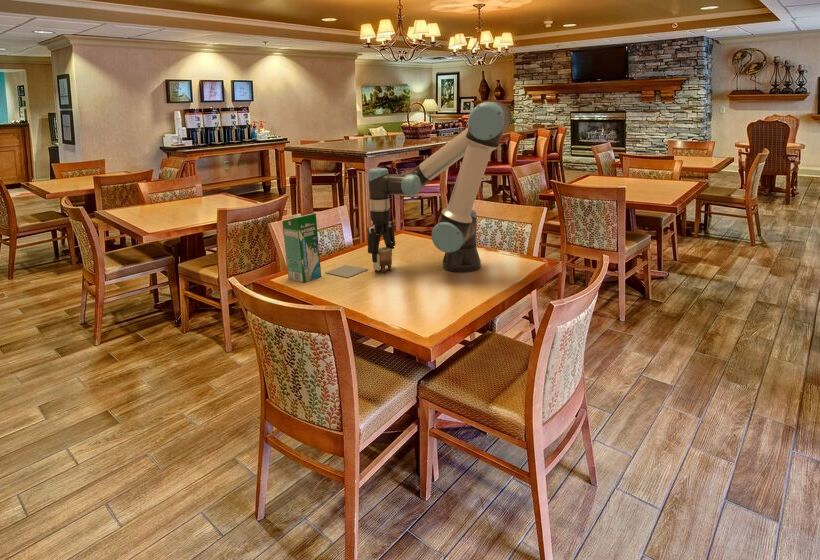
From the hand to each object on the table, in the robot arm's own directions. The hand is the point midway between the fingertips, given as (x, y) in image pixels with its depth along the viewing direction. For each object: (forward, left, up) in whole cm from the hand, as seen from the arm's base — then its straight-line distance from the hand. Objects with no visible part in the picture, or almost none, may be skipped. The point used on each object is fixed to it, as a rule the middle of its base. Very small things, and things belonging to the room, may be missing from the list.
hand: (382, 267), depth 221 cm
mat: (+12, +8, -2) cm, 15 cm away
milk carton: (+21, +22, -2) cm, 30 cm away
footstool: (0, 0, -2) cm, 2 cm away
